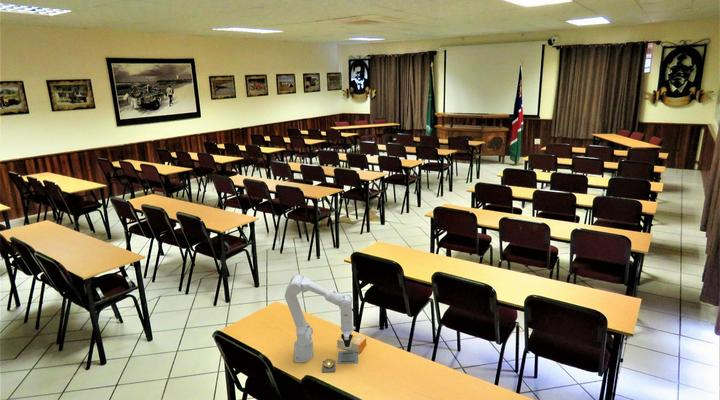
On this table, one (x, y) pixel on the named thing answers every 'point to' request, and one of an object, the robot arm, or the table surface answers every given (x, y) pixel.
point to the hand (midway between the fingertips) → (347, 343)
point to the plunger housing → (328, 368)
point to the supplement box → (353, 343)
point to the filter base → (347, 357)
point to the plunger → (328, 363)
